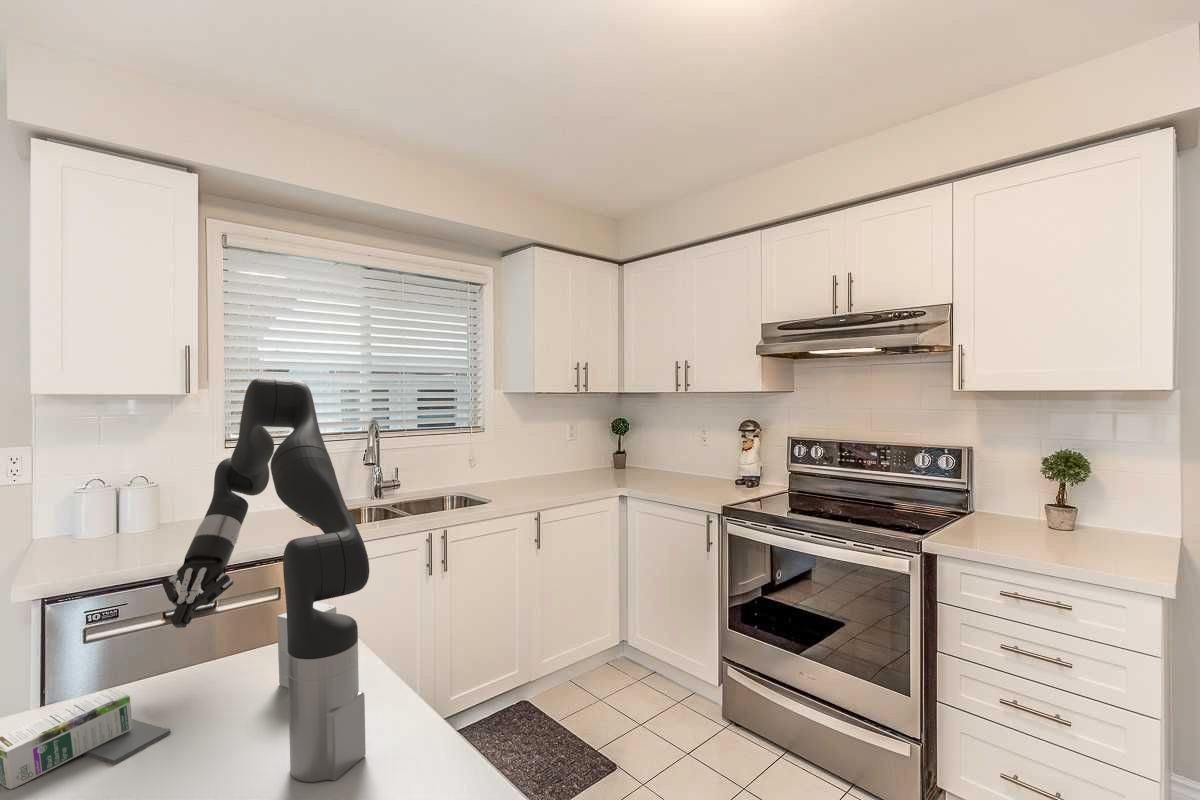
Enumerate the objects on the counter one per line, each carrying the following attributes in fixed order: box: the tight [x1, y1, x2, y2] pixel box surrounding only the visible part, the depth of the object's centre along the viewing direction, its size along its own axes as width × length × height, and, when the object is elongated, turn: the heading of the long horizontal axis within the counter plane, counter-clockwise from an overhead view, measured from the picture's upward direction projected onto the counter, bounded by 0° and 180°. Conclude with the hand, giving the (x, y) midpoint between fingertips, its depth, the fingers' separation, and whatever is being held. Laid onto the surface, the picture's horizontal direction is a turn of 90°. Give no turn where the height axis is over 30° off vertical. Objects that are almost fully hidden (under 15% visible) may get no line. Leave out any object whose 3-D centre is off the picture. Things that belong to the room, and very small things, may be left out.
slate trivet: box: [82, 718, 172, 765], centre depth 91 cm, size 13×8×1 cm, turn 70°
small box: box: [276, 601, 337, 689], centre depth 109 cm, size 8×6×13 cm
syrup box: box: [0, 687, 134, 790], centre depth 87 cm, size 6×6×14 cm
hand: (178, 626), depth 108 cm, fingers closed
